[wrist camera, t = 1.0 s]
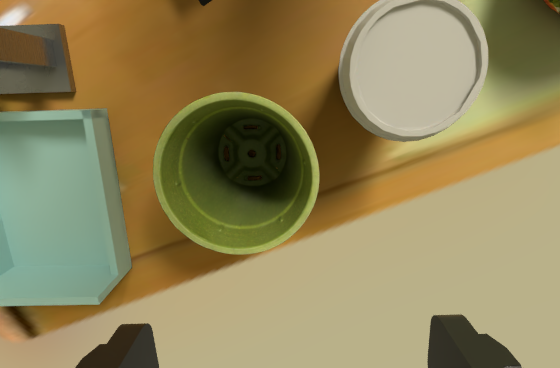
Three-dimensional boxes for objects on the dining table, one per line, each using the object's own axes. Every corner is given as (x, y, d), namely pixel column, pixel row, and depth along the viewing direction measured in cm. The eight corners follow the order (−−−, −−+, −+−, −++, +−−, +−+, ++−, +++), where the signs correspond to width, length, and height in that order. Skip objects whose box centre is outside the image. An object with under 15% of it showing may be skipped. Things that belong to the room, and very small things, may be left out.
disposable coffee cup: (355, 145, 34) (390, 171, 23) (302, 63, 32) (312, 47, 21) (438, 89, 33) (522, 87, 21) (389, 0, 31) (452, -55, 19)
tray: (-27, 112, 34) (-104, 117, 27) (106, 108, 34) (62, 112, 27) (14, 269, 39) (-43, 306, 32) (132, 267, 38) (99, 304, 32)
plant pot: (272, 69, 33) (265, 57, 22) (329, 173, 35) (348, 209, 24) (171, 129, 34) (117, 147, 23) (232, 225, 37) (210, 280, 26)
